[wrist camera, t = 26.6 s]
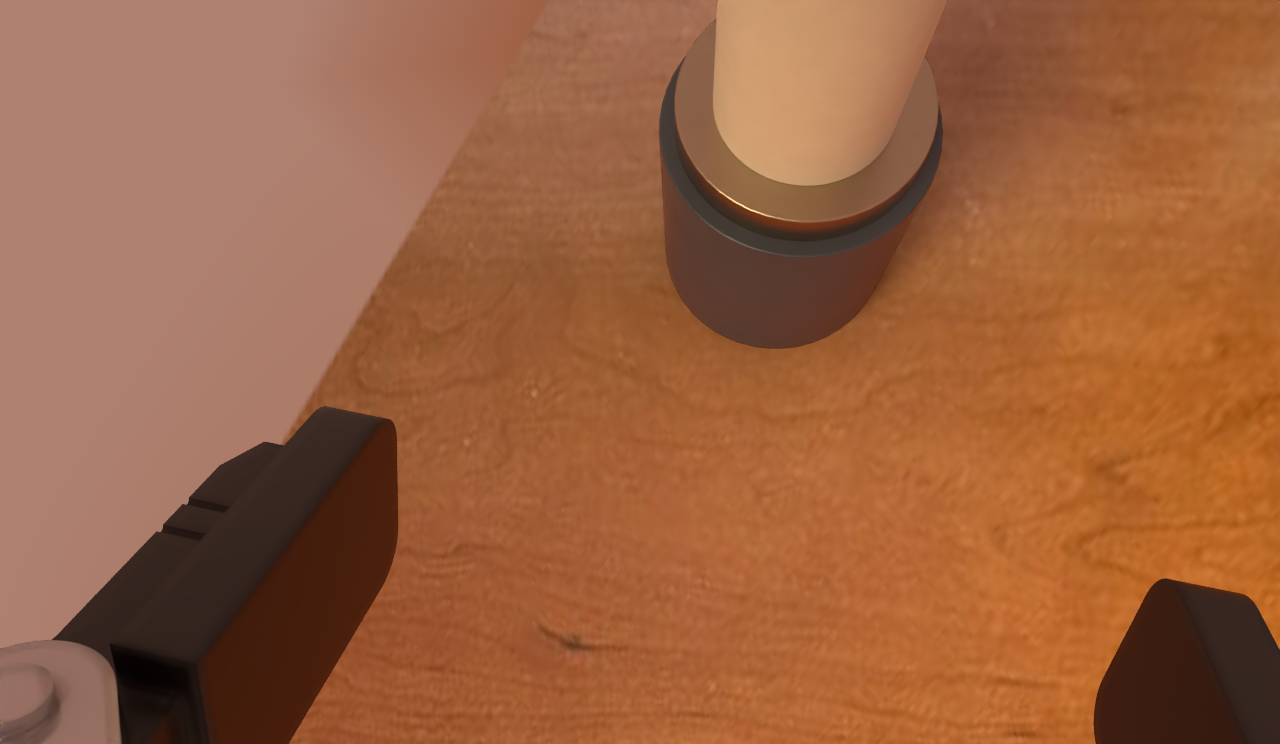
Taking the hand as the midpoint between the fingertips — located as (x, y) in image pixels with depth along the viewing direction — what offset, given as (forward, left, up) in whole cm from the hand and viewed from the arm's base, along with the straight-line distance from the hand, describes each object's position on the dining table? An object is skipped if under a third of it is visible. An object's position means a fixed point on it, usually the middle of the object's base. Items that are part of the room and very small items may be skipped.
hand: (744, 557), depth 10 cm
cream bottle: (0, +15, -16) cm, 22 cm away
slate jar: (0, +15, -27) cm, 31 cm away
